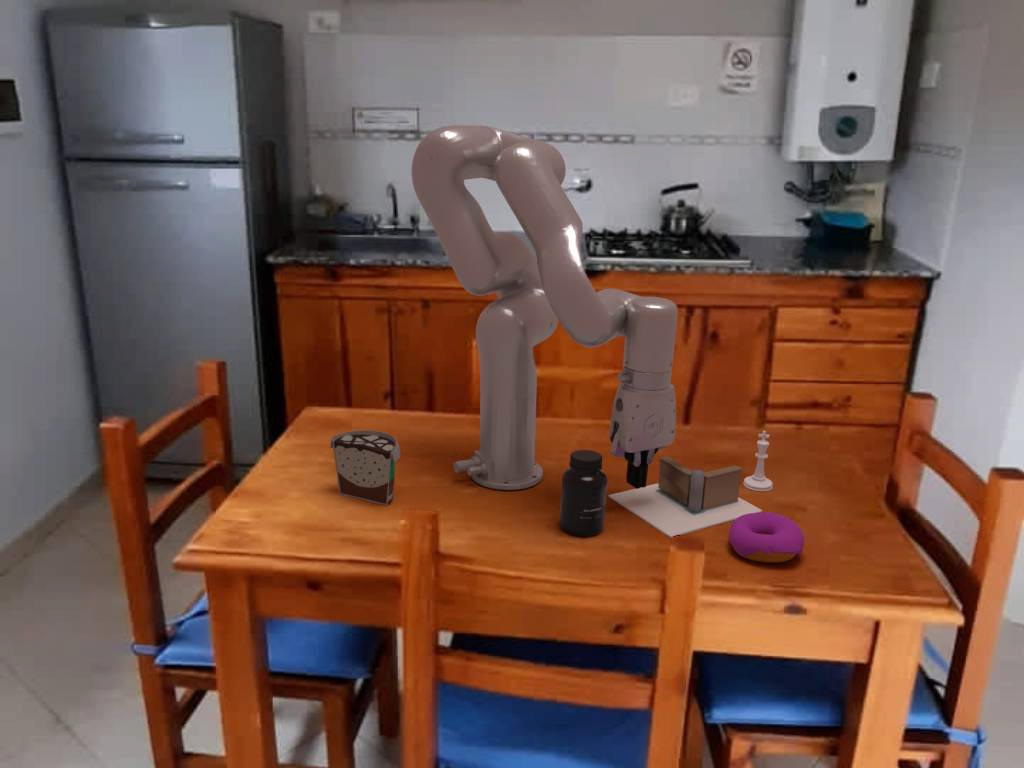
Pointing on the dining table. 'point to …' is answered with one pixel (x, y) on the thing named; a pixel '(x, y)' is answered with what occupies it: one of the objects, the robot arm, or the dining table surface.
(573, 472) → the supplement bottle
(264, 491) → the dining table surface
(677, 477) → the fence panel
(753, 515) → the donut
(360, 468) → the food container
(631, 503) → the fence base
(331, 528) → the dining table surface
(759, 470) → the chess piece
